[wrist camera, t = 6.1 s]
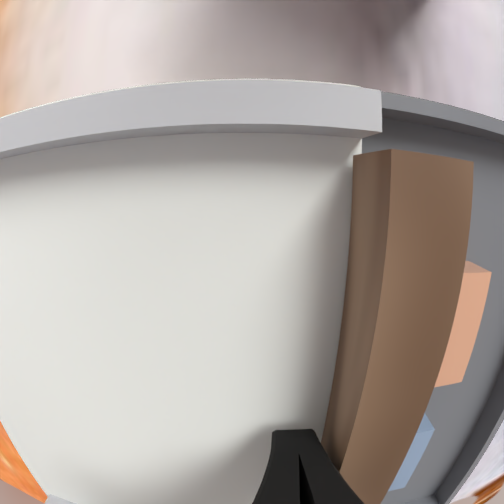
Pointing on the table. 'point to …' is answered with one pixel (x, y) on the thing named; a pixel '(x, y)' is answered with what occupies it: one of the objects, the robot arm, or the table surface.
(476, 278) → the tile
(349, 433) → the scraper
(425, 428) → the tile
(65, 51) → the table surface
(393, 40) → the table surface
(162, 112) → the white rimmed panel
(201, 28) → the table surface
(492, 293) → the box
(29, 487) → the table surface
